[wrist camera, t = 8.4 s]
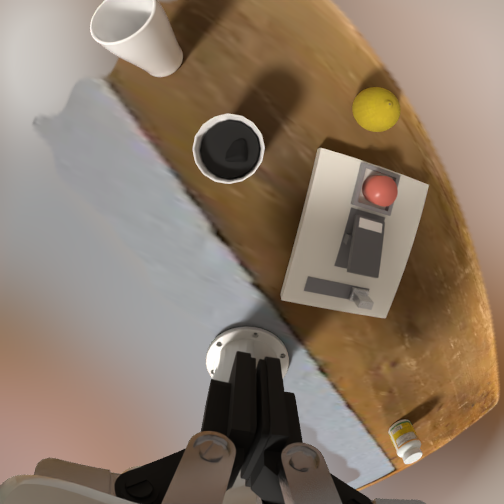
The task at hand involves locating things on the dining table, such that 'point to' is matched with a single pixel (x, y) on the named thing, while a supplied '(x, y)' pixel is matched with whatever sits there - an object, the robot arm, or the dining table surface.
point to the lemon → (376, 109)
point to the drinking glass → (138, 35)
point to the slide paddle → (361, 298)
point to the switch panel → (349, 236)
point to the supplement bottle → (405, 441)
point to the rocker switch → (366, 246)
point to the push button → (380, 190)
